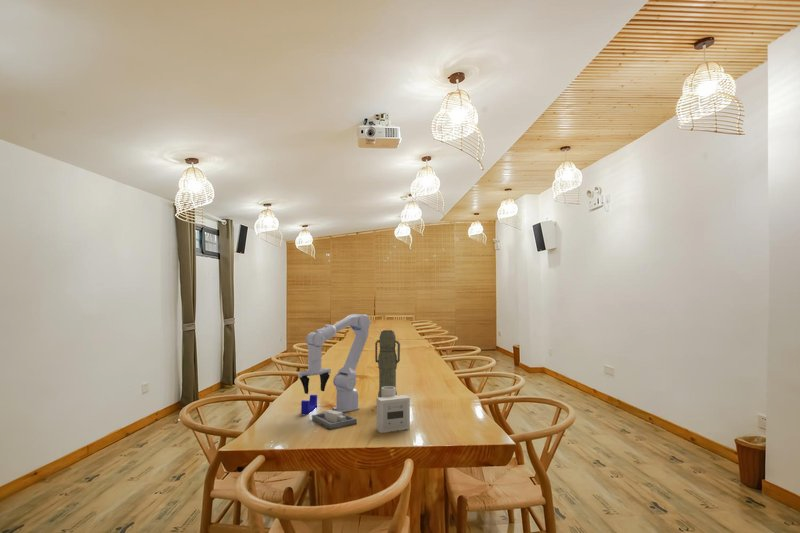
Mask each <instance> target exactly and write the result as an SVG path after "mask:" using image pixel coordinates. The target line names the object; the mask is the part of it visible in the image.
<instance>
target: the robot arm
mask: <svg viewBox="0 0 800 533" xmlns="http://www.w3.org/2000/svg"><path fill="white" fill-rule="evenodd" d="M371 324H372V323H371V320H370V317H369V315H367V314H360V313H359V314H358V313H351V314H349V315H347V316H346V317H344V318H342V319H341V320H339V321H337V322H336V323H334V324H333V325H332V324H324V325H323V326H324V327H321V328H320V329H317V328H316V330H315V332H314V331H312V332H309V333H307V336H306V338H305V339H304V340H305V343H306V344H307V370H304V371H298V372H297V377H298V378H299V380H300V382H301V385H302V387H303V391H304V394H306V395H308V394H309V384H310V378H309V377H311V376H318V375H319V379H320V381H319V382H320V391H321V392H325V389H326V385H327V382H328V380H329V379H330V376H331V375H330V374H331V371H332V370H331V368H322V351H323V350H322V346H323V345H324V343H325V341H328V340H330V339H331V338H334V337H335V336H336V335H337V332H339V331H341V330H344V329H345V328H348V327H350V328H351V330H352V331H353V333H354V335H355V337H354V339H353V342H352V344H351V346H350V349H349V352H348V355H347V357H346V359H345V363H344V365H343V367H341V368H340V369H339V370H338V371H337V373H336V374H335V376H334V377H333V380H332V381H333V382H332V384H333V385H334V387H335V390H336V406H333V407H332V409H333V410H334V411H337V410H338V411H340V412H342V413H345V412H349V411H356V410H360V408H359V394H358V390H357V388H355V386H356V384H357V377H358V375H357V373H356V368H357V366H358V362H359V360H360V358H361V355H362V354H363V351H364V347H365V345H366V342H367V339H368V337H369V329H370V326H371Z"/></svg>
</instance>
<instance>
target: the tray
mask: <svg viewBox="0 0 800 533" xmlns="http://www.w3.org/2000/svg"><path fill="white" fill-rule="evenodd" d="M336 411H338V410H336ZM339 412H340V411H339ZM342 415H343V416H346V420H344V421H340V422H336V423H334V422H330V421H326V420H325V412H322V413H317V414H312V415H311V420H312V421H313V422H315V423H316V424H319V425H321V426H323V427H324V428H326V429H328V430H336V429H339V428H344V427H349V426H353V425H357V424H358V423H357V422H358V418H355V417H353V416H351V415H349V414H346V413H345V412H342Z"/></svg>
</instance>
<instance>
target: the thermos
mask: <svg viewBox="0 0 800 533" xmlns="http://www.w3.org/2000/svg"><path fill="white" fill-rule="evenodd" d="M396 339H397V338H396V334H395V331H393V330H389V329H386V330H385V329H384V330H382V331H380V334H379V339H377V340H376V342H375V343H374V344H375V345H374V348H375V350H374V352H375V354H374V355H375V356H374V358H375V363H377V365H378V367H377V368H378V374H379V377H378V379H379V381H378V383H379V385H378V387H379V388H378V389H379V390H378V393H377V398H380V397H382V387H385V386H392V387H395V388H396V389H397V367H398V364H399V362H400V360H401V342H399V340H396ZM378 344H379V354H378ZM396 346H397V347H396ZM396 348H397V351H396ZM396 352H397V353H396ZM396 395H398V391H397V390H396Z"/></svg>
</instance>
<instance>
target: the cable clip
mask: <svg viewBox="0 0 800 533" xmlns="http://www.w3.org/2000/svg"><path fill="white" fill-rule="evenodd" d="M300 402H301V403H300V404H301V405H300V406H301V408H300V410H301V412H300V413H301V414H305V415H304V416H308V415H309V413H310V412H311V413H312V412H314V411H315V410H316V409H318V394H310V395H309V400H308V399H307V400H306V399H305V400H304V399H303V400H301V401H300ZM315 408H316V409H315ZM314 409H315V410H314ZM311 413H310V414H311ZM301 414H300V415H301Z"/></svg>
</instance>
